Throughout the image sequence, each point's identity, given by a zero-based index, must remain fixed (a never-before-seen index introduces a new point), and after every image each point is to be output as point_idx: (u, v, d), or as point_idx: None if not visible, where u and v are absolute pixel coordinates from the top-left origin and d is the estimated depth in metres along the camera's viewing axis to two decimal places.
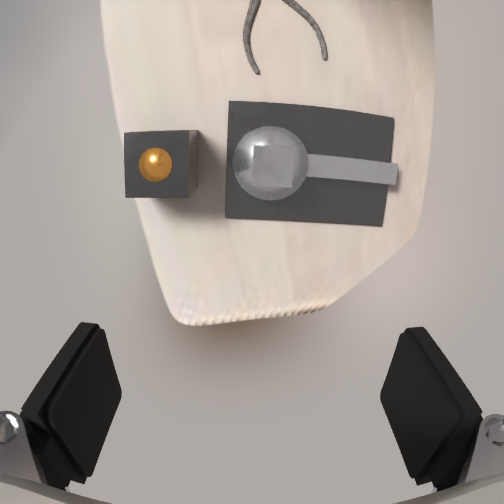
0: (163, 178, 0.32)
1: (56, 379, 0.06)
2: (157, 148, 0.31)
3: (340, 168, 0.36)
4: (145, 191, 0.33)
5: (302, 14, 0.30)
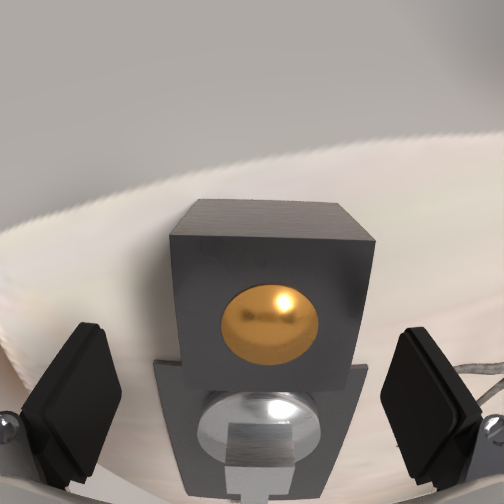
0: (230, 343, 0.12)
1: (56, 379, 0.06)
2: (314, 333, 0.12)
3: None
4: (190, 295, 0.12)
5: None
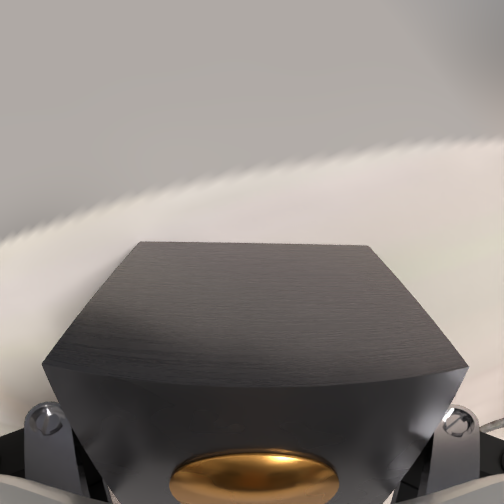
0: (190, 502, 0.06)
1: None
2: (330, 494, 0.06)
3: None
4: (109, 452, 0.05)
5: None
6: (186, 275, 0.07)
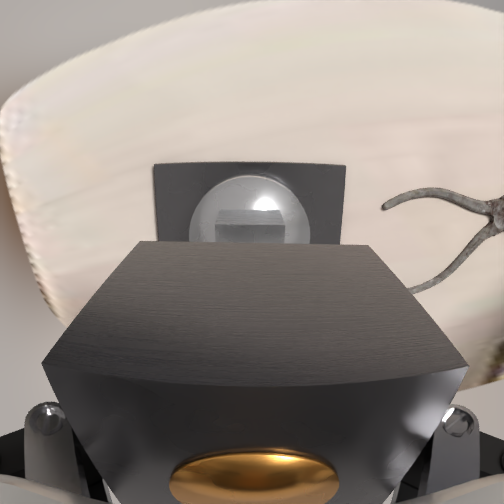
0: (190, 502, 0.06)
1: None
2: (330, 494, 0.06)
3: None
4: (109, 452, 0.05)
5: (454, 264, 0.26)
6: (186, 274, 0.07)
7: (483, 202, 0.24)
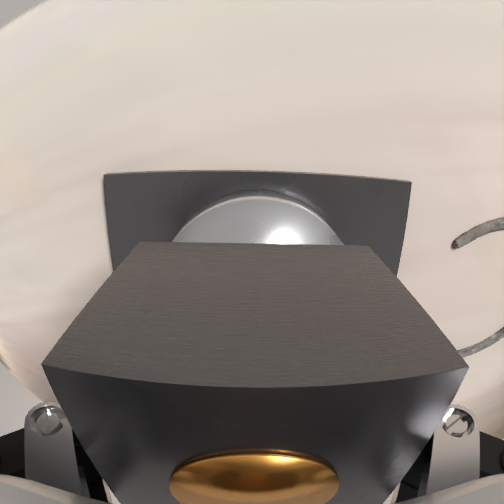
0: (190, 503, 0.06)
1: None
2: (330, 494, 0.06)
3: None
4: (109, 452, 0.05)
5: None
6: (186, 275, 0.07)
7: None
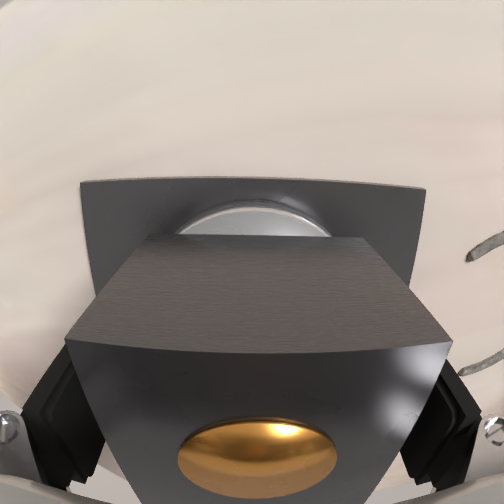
0: (196, 478, 0.06)
1: (57, 379, 0.06)
2: (328, 468, 0.06)
3: None
4: (122, 425, 0.06)
5: None
6: (194, 262, 0.08)
7: None
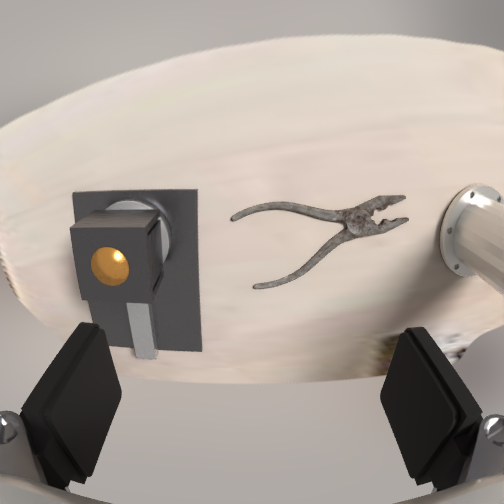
0: (96, 274, 0.26)
1: (56, 379, 0.06)
2: (128, 269, 0.26)
3: (137, 308, 0.35)
4: (79, 252, 0.25)
5: (307, 264, 0.36)
6: (103, 215, 0.28)
7: (333, 211, 0.34)
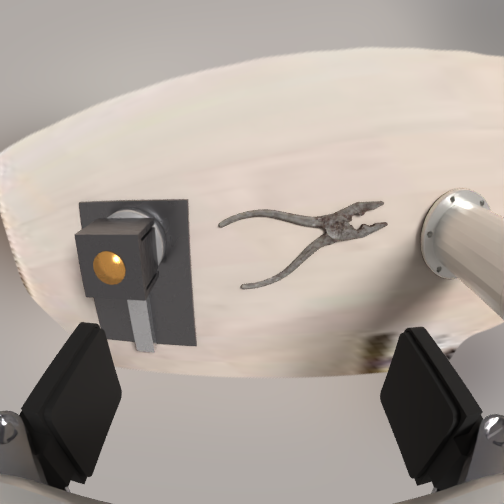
0: (97, 274, 0.30)
1: (56, 379, 0.06)
2: (124, 271, 0.30)
3: (137, 306, 0.39)
4: (83, 256, 0.30)
5: (289, 266, 0.39)
6: (104, 224, 0.32)
7: (312, 218, 0.37)
